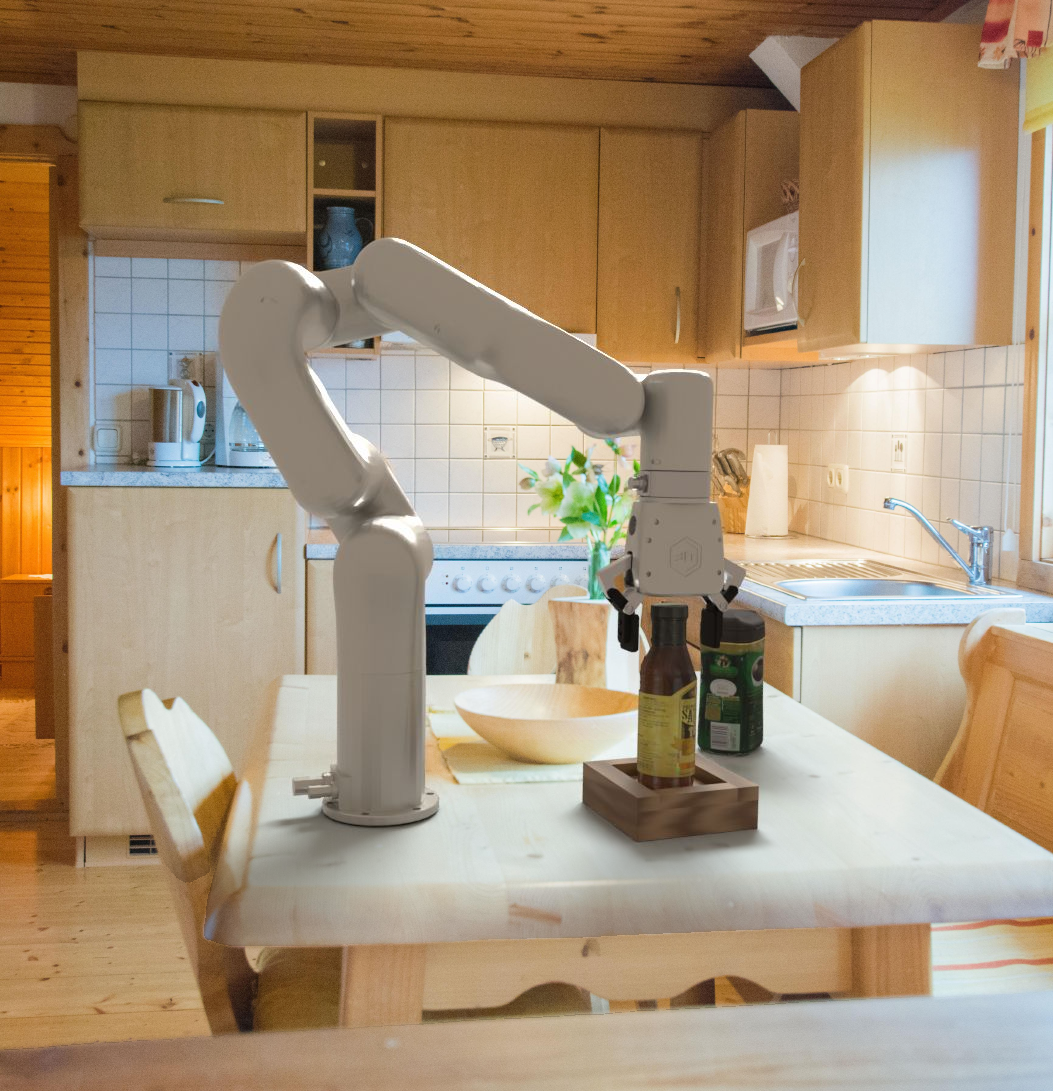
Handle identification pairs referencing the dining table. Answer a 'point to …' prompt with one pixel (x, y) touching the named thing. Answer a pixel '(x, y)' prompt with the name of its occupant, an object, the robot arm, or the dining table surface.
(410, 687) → the robot arm
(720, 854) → the dining table surface
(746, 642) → the coffee jar
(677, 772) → the sauce bottle
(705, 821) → the walnut block
